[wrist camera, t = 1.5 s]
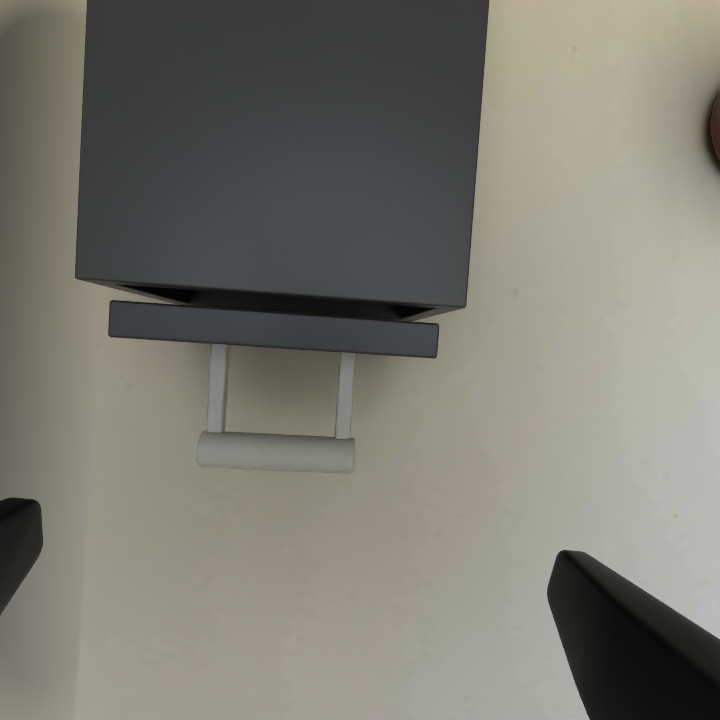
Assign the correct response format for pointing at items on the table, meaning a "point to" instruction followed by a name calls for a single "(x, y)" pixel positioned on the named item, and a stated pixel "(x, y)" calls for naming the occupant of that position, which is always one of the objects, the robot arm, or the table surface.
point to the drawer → (274, 333)
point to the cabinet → (282, 153)
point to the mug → (716, 127)
